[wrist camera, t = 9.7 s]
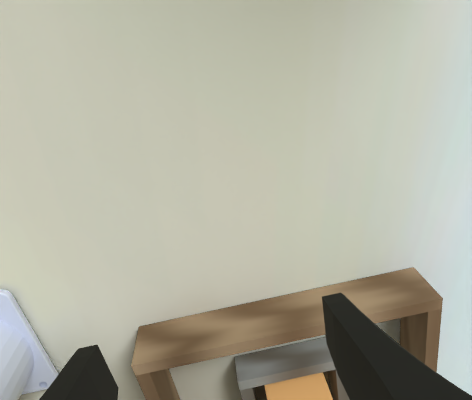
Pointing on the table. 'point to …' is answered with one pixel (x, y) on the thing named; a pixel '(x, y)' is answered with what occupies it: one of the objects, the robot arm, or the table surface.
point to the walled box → (286, 334)
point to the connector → (300, 389)
